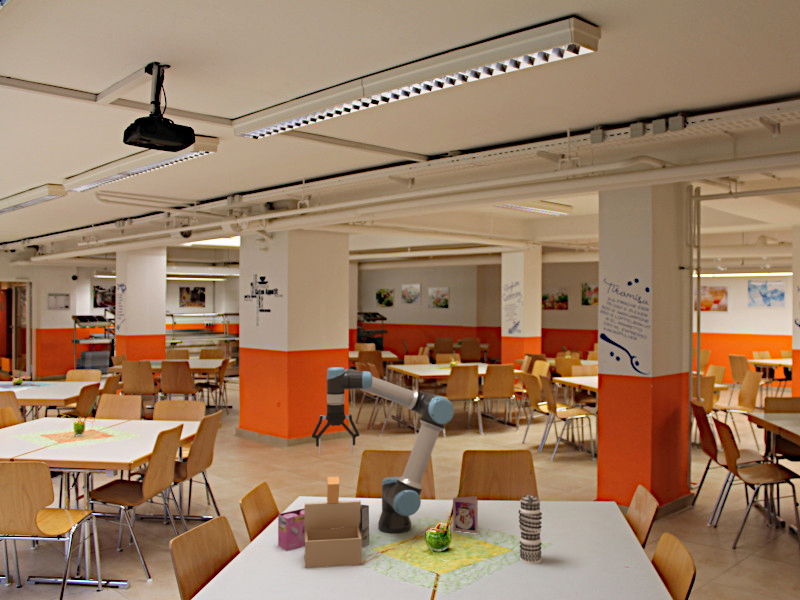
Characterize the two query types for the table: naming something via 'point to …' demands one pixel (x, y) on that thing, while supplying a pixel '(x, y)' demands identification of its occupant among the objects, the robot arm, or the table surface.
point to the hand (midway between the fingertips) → (335, 453)
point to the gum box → (291, 529)
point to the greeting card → (465, 514)
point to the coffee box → (364, 524)
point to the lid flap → (332, 510)
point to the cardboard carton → (333, 547)
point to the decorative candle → (530, 529)
